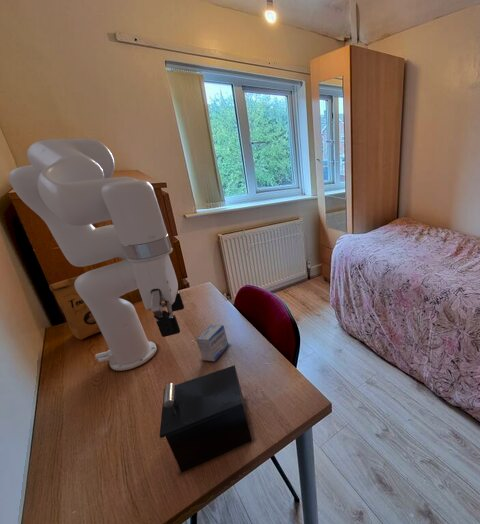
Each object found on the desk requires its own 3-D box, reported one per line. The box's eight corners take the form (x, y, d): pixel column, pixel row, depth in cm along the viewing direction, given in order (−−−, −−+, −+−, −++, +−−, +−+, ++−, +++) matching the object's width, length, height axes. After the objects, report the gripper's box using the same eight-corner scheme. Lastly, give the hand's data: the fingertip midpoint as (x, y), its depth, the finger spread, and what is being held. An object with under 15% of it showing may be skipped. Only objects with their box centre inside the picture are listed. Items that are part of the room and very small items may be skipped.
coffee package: (120, 326, 108) (98, 274, 99) (78, 344, 99) (49, 289, 90) (112, 317, 114) (90, 267, 105) (72, 333, 105) (44, 280, 96)
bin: (181, 472, 61) (165, 436, 56) (182, 424, 71) (169, 390, 66) (252, 441, 67) (242, 405, 62) (243, 400, 77) (235, 367, 72)
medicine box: (214, 362, 90) (208, 340, 86) (202, 360, 91) (195, 338, 87) (229, 345, 97) (223, 324, 93) (217, 343, 98) (211, 323, 94)
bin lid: (160, 438, 55) (152, 421, 53) (165, 391, 66) (158, 375, 64) (242, 405, 62) (238, 389, 60) (235, 367, 72) (231, 351, 70)
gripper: (135, 238, 60) (160, 306, 67) (111, 268, 46) (146, 351, 53) (175, 232, 63) (195, 298, 70) (164, 259, 49) (191, 339, 56)
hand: (174, 321), depth 62 cm, fingers open, 9 cm apart
